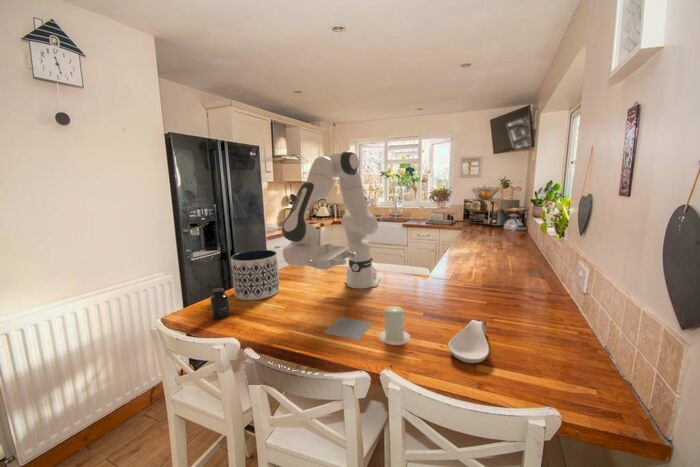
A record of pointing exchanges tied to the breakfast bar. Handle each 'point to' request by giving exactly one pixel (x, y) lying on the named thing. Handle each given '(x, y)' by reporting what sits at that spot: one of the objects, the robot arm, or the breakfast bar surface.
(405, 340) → the coaster
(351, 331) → the felt mat
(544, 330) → the breakfast bar surface
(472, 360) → the spoon rest
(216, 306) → the supplement bottle
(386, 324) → the grey rounded cylinder
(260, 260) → the planter
